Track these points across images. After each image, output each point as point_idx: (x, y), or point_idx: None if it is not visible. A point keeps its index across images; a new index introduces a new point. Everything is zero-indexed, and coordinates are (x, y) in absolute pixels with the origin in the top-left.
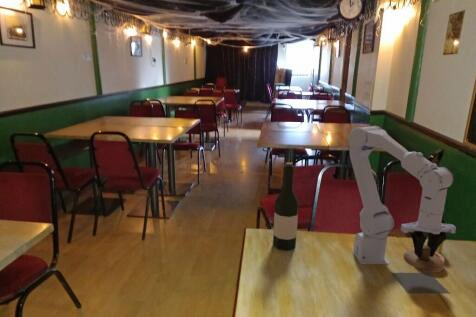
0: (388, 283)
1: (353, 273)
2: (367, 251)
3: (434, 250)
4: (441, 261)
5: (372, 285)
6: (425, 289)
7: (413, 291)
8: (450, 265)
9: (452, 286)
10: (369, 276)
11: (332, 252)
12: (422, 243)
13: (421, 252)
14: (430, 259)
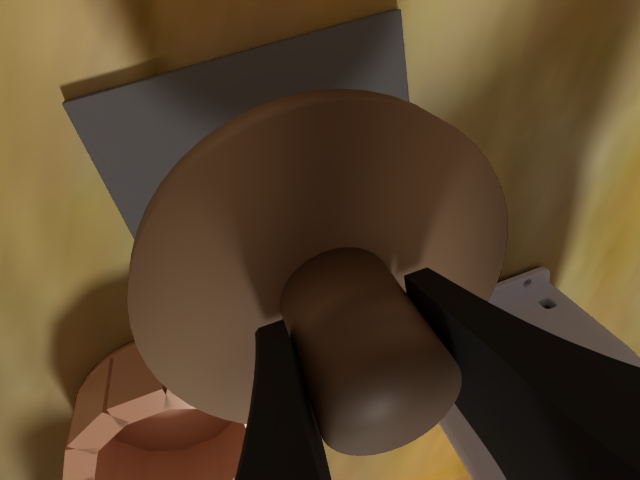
0: (471, 118)
1: (618, 165)
2: (564, 336)
3: (280, 389)
4: (145, 311)
5: (576, 63)
6: (255, 98)
7: (352, 43)
8: (18, 456)
9: (28, 222)
10: (548, 163)
11: (620, 319)
12: (587, 396)
13: (443, 302)
14: (264, 307)
